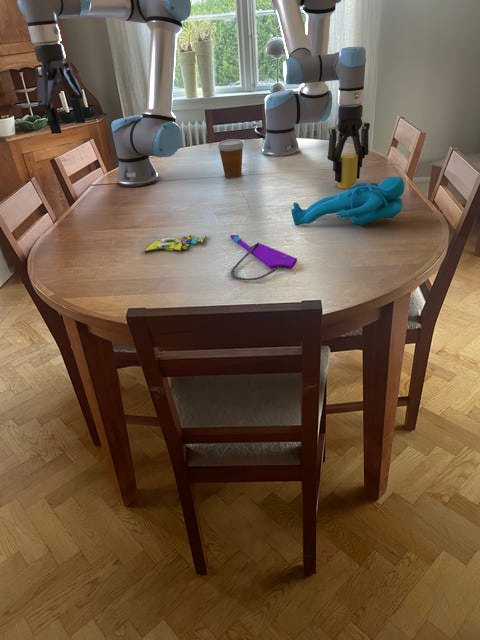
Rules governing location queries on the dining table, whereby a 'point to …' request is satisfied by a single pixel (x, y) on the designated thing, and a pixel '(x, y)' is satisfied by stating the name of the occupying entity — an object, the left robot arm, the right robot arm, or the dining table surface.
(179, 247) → the toy
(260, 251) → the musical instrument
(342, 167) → the can
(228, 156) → the disposable coffee cup
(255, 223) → the dining table surface
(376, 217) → the toy
